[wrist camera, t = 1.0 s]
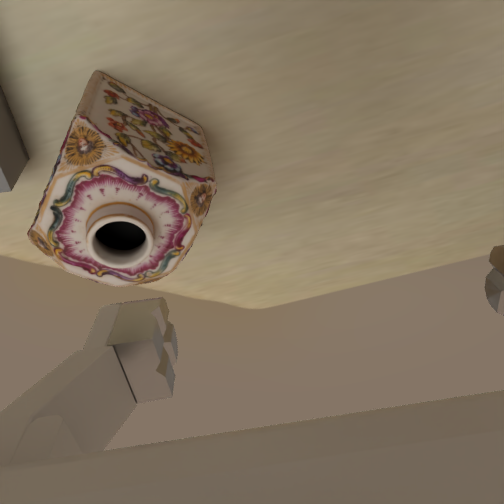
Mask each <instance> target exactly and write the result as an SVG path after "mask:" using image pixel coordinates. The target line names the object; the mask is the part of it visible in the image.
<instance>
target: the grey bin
mask: <svg viewBox="0 0 504 504" xmlns="http://www.w3.org/2000/svg"><path fill="white" fill-rule="evenodd" d="M28 160H29V157H28V154H27V151H26V149H25V146H24V144H23V141H22V139H21V136H20V134H19V131H18V129H17V126H16V124H15V121H14V119H13V116H12V113H11V111H10V108H9V106H8V103H7V101H6V98H5V96H4V93H3V91H2V88H1V86H0V193H1V192H9V191H12V189H13V187H14V185H15V184H16V182H17V180H18V178H19V176H20V174H21V173H22V171H23V169H24V167H25V165H26V164H27V162H28Z"/></svg>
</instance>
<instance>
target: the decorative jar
mask: <svg viewBox="0 0 504 504" xmlns="http://www.w3.org/2000/svg"><path fill="white" fill-rule="evenodd" d="M216 188H217V183H216V181H215V176H214V170H213V166H212V161H211V157H210V152H209V149H208V145H207V142H206V139H205V136H204V133H203V130H202V128H201V127H200V126H199V125H197V124H196V123H194V122H192V121H191V120H189V119H187V118H185V117H183V116H181V115H179V114H177V113H175V112H174V111H172V110H170V109H168V108H166V107H165V106H162V105H161V104H159V103H157V102H156V101H154V100H152V99H150V98H148V97H146V96H144V95H143V94H141V93H139V92H137V91H135V90H133V89H131V88H129V87H127V86H126V85H124V84H122V83H120V82H118V81H116V80H114V79H113V78H111V77H109V76H107V75H105V74H104V73H101V72H99V71H95V72H94V73H93V74H92V76H91V78H90V80H89V82H88V84H87V86H86V88H85V91H84V94H83V97H82V99H81V101H80V103H79V105H78V107H77V110H76V114H75V116H74V118H73V120H72V121H71V125H70V127H69V130H68V132H67V136H66V138H65V140H64V142H63V145H62V147H61V149H60V155H59V157H58V159H57V162H56V164H55V166H54V168H53V171H52V175H51V177H50V180H49V183H48V185H47V188H46V189H45V190H44V196H43V198H42V200H41V201H40V203H39V209H38V211H37V213H36V217H35V219H34V222H33V224H32V226H31V228H30V229H29V231H28V233H27V235H28V237H29V240H30V241H31V242H32V244H34V245H36V246H37V247H38V248H39V249H40V250H41V251H42V252H43V253H44V254H45V255H47V256H48V257H50V258H51V259H52V260H53V261H55V262H56V263H57V264H58V265H59V266H60V267H61V268H63V269H64V270H65V271H67V272H70V273H73V274H75V275H79V276H81V277H84V278H87V279H90V280H93V281H95V282H98V283H102V284H107V285H111V286H116V287H124V286H130V285H138V284H143V283H145V284H146V283H151V282H154V281H157V280H159V279H161V278H163V277H164V276H167V275H168V274H169V273H171V272H173V271H174V270H175V269H176V268H177V266H178V265H179V263H180V262H181V261H182V260H183V259H184V257H185V256H186V254H187V252H188V251H189V250H190V248H191V247H192V245H193V241H194V239H195V238H196V236H197V234H198V231H199V229H200V227H201V226H202V221H203V219H204V217H205V216H206V215H207V213H208V210H209V206H210V202H211V199H212V197H213V195H214V194H215V193H216V192H217V189H216Z"/></svg>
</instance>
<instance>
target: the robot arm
mask: <svg viewBox="0 0 504 504" xmlns="http://www.w3.org/2000/svg"><path fill="white" fill-rule="evenodd" d="M489 262H490V264H491V265H492V266H493V269H492V271H491V272H490V273H489V274H488V275H487V276H486V281H485V292H486V297H487V299H488V301H489V303H490V305H491V307H492V308H493V309H494V310H495V311H496V312H497V313H499V314H501V315H504V245H500V246H494V248H493V249H492V251H491V252H490V258H489ZM168 314H169V309H168V306H167V303H166V300H165V299H164V298H163V297H161V298H154V299H146V300H139V301H131V302H124V303H116V304H110V305H104V306H102V307H101V308H100V309H99V312H98V314H97V316H96V319H95V321H94V324H93V326H92V328H91V331H90V333H89V336H88V338H87V340H86V343H85V345H84V348H83V350H80V351H76V352H74V353H73V354H72V355H71V356H69V357H68V358H67V359H66V360H64V361H63V362H62V363H61V364H60V365H58V366H57V367H56V368H55V369H53V370H52V371H51V372H50V373H48V374H47V375H46V376H45V377H43V378H42V379H41V380H40V381H38V382H37V383H36V384H35V385H33V386H32V387H31V388H30V389H28V390H27V391H26V392H25V393H23V394H22V395H21V396H20V397H18V398H17V399H16V400H15V401H13V402H12V403H11V404H10V405H8V406H7V407H6V408H5V409H3V410H2V411H1V412H0V504H504V390H501V391H494V392H487V393H481V394H474V395H467V396H461V397H454V398H447V399H441V400H435V401H428V402H421V403H415V404H408V405H402V406H395V407H388V408H382V409H376V410H369V411H362V412H356V413H349V414H343V415H336V416H330V417H324V418H316V419H310V420H303V421H297V422H290V423H283V424H277V425H270V426H264V427H257V428H250V429H244V430H237V431H231V432H224V433H218V434H211V435H204V436H198V437H191V438H184V439H178V440H171V441H164V442H158V443H151V444H145V445H138V446H131V447H125V448H118V449H112V450H105V451H103V450H104V448H105V447H106V446H107V445H108V443H109V442H110V441H111V439H112V438H113V437H114V435H115V434H116V433H117V431H118V430H119V429H120V428H121V426H122V425H123V424H124V422H125V421H126V420H127V418H128V417H129V416H130V414H131V413H132V412H133V410H134V409H135V408H136V406H137V404H138V403H143V402H149V401H154V400H160V399H165V398H171V397H172V396H173V388H174V380H175V374H174V370H173V365H174V364H175V363H176V362H177V356H178V349H177V348H178V347H177V337H176V332H175V329H174V325H173V324H171V323H170V322H169V321H168Z"/></svg>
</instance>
